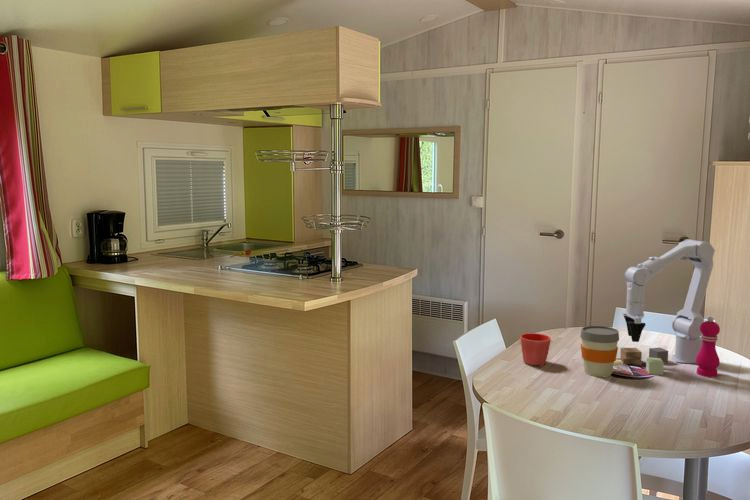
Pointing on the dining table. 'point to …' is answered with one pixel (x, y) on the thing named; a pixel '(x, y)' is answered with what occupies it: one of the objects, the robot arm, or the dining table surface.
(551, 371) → the dining table surface
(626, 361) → the base slab
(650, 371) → the green cube
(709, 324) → the pepper mill
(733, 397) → the dining table surface
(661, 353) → the charcoal block
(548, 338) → the flower pot
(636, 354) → the top slab
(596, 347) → the reusable coffee cup
